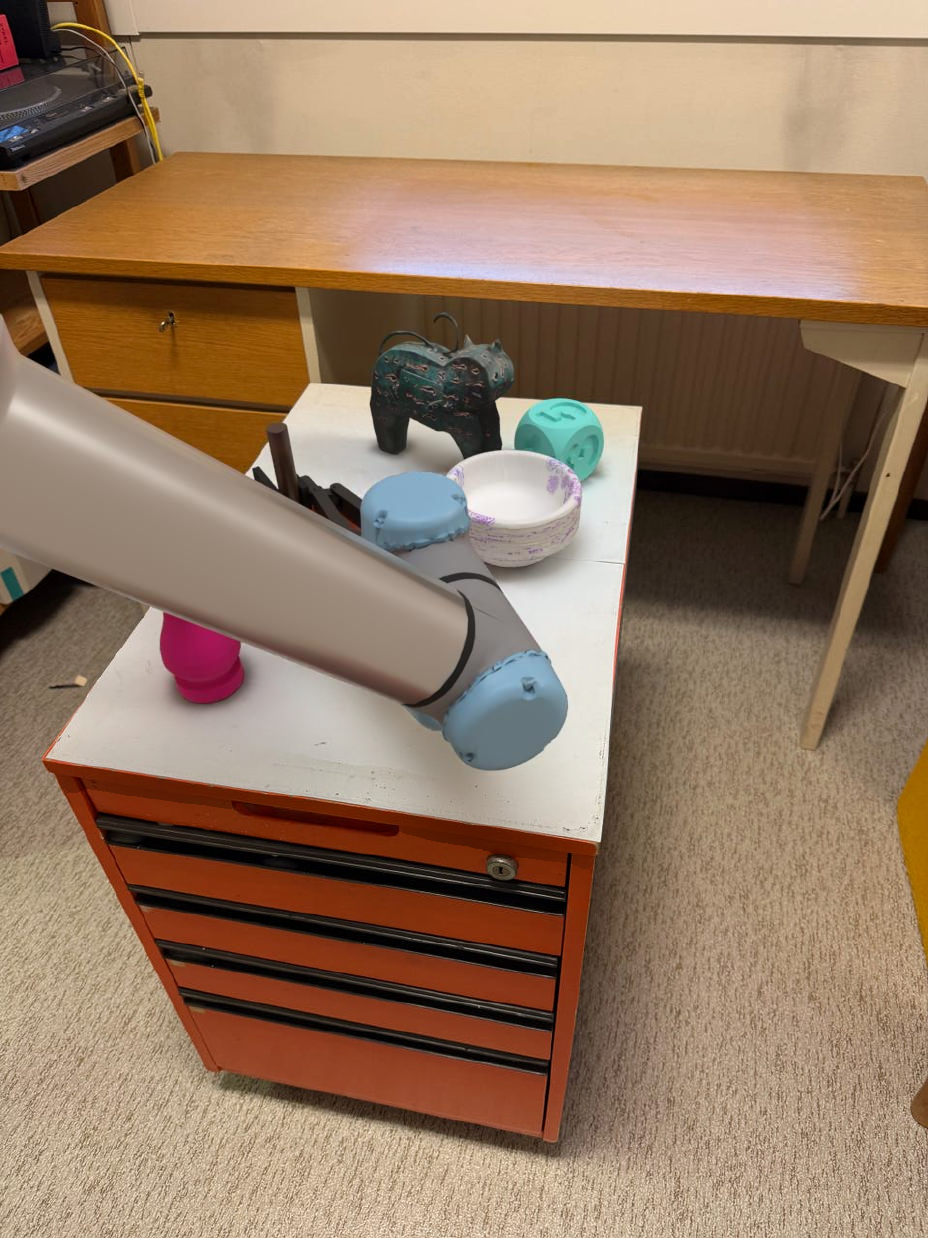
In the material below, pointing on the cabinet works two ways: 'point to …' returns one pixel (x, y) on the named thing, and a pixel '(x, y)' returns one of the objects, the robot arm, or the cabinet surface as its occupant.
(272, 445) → the dowel on disc base
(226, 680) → the pepper mill
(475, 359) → the ceramic cat
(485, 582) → the robot arm
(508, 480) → the paper bowls
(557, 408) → the decorative dice
